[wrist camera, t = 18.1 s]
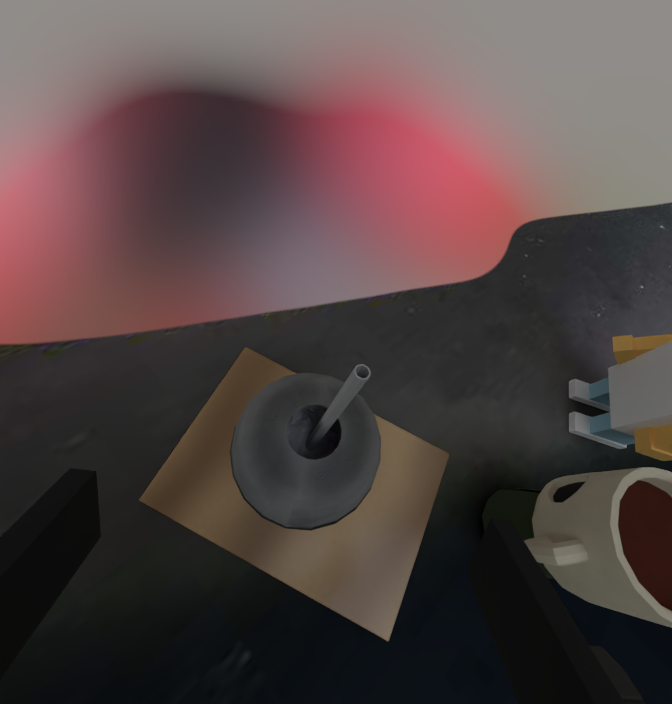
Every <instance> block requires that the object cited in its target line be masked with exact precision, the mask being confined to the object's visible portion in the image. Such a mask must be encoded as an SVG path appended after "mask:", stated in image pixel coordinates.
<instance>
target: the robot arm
mask: <svg viewBox="0 0 672 704" xmlns="http://www.w3.org/2000/svg"><path fill="white" fill-rule="evenodd" d="M100 537H101V532H100V518H99V504H98V490H97V476H96V471H89V470H80V469H72V468H70V469H69V470H68V471H67V472H66V473H65V474H64V475H63V476H62V477H61V478H60V479H59V480H58V481H57V482H56V483H55V484H54V485H53V486H52V487H51V488H50V489H49V490H48V491H47V492H46V493H45V494H44V495H43V496H42V497H41V498H40V499H39V500H38V501H37V502H36V503H35V504H34V505H33V506H31V507H30V508H29V509H28V510H27V511H26V512H25V513H24V514H23V515H22V516H21V517H20V518H19V519H18V520H17V521H16V522H15V523H14V524H13V525H12V526H11V527H10V528H9V529H8V530H7V531H6V532H5V533H4V534H3V535H2V536H1V537H0V679H1V678H2V676H3V675H4V673H5V672H6V671H7V669H8V668H9V666H10V665H11V663H12V662H13V661H14V659H15V658H16V656H17V655H18V653H19V652H20V651H21V649H22V648H23V646H24V645H25V643H26V642H27V641H28V639H29V638H30V636H31V635H32V634H33V632H34V631H35V629H36V628H37V626H38V625H39V624H40V622H41V621H42V619H43V618H44V616H45V615H46V614H47V612H48V611H49V609H50V608H51V607H52V605H53V604H54V602H55V601H56V599H57V598H58V597H59V595H60V594H61V592H62V591H63V589H64V588H65V587H66V585H67V584H68V582H69V581H70V580H71V578H72V577H73V575H74V574H75V572H76V571H77V570H78V568H79V567H80V565H81V564H82V562H83V561H84V560H85V558H86V557H87V555H88V554H89V553H90V551H91V550H92V548H93V547H94V545H95V544H96V543H97V541H98V540H99V538H100ZM466 574H467V577H468V579H469V582H470V584H471V587H472V589H473V591H474V594H475V596H476V599H477V601H478V604H479V606H480V609H481V611H482V614H483V616H484V619H485V621H486V624H487V626H488V629H489V631H490V634H491V636H492V639H493V641H494V644H495V646H496V649H497V651H498V654H499V656H500V659H501V661H502V664H503V666H504V669H505V671H506V674H507V676H508V679H509V681H510V684H511V686H512V689H513V691H514V693H515V696H516V698H517V701H518V703H519V704H646V703H644V702H643V701H642V697H641V695H640V694H639V692H638V691H637V689H636V688H635V686H634V685H633V683H632V682H631V680H630V679H629V677H628V676H627V674H626V673H625V671H624V670H623V669H622V668H621V667H620V666H619V664H618V663H617V662H616V661H615V660H614V659H613V658H612V657H611V656H610V655H609V654H608V653H607V652H606V651H605V650H604V649H603V648H602V647H600V646H589V645H588V643H587V641H586V640H585V638H584V637H583V635H582V633H581V632H580V630H579V629H578V627H577V625H576V624H575V622H574V621H573V619H572V617H571V616H570V614H569V613H568V611H567V609H566V608H565V606H564V605H563V603H562V601H561V600H560V598H559V596H558V595H557V593H556V592H555V590H554V588H553V587H552V585H551V584H550V582H549V580H548V579H547V577H546V576H545V574H544V572H543V571H542V569H541V568H540V566H539V564H538V563H537V561H536V560H535V558H534V556H533V555H532V553H531V551H530V550H529V548H528V547H527V545H526V543H525V542H524V540H523V539H522V537H521V535H520V534H519V532H518V531H517V529H516V527H515V526H514V524H513V523H512V521H511V520H502V519H494V518H491V519H490V521H489V523H488V525H487V528H486V530H485V532H484V535H483V537H482V539H481V541H480V544H479V546H478V548H477V551H476V553H475V555H474V557H473V560H472V562H471V564H470V567H469V569H468V571H467V573H466Z"/></svg>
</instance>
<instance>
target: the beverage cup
mask: <svg viewBox="0 0 672 704" xmlns="http://www.w3.org/2000/svg"><path fill="white" fill-rule="evenodd" d="M370 374H371V372H370V369H369V367H367V366H366V365H364V364H360V365H356V367H355V368H354V370H353V371H352V373H351V374H350V376H349V377H348V379H347V380H346V382H343V381H340V380H338V379H336V378H334V377H331V376H329V375H324V374H316V373H308V372H305V373H300V374H294V375H288V376H284V377H282V378H280V379H278V380H276V381H274V382H272V383H270V384H268V385H266V386H265V387H264V388H263V389H262V390H261V391H260V392H259V393H258V394H257V395H255V396H254V397H253V398H252V399H251V400H250V401H249V403H248V404H247V406H246V408H245V410H244V411H243V413H242V415H241V417H240V419H239V420H238V422H237V424H236V426H235V428H234V433H233V438H232V443H231V448H230V457H231V466H232V474H233V478H234V480H235V482H236V484H237V486H238V488H239V491H240V493H241V495H242V497H243V499H244V500H245V501H246V502H247V503H248V504H249V505H250V506H251V507H252V508H253V509H254V510H255V511H256V512H257V513H258V514H259V515H260V516H261V517H262V518H264V519H266V520H268V521H270V522H272V523H274V524H277V525H279V526H281V527H283V528H285V529H297V530H310V531H311V530H315V529H318V528H322V527H326V526H329V525H333V524H336V523H337V522H339V521H340V520H342V519H343V518H344V517H346V516H347V515H349V514H350V513H352V512H353V511H355V510H356V509H357V507H358V506H359V505H360V503H361V502H362V501H363V499H364V498H365V497H366V495H367V494H368V493H369V491H370V490H371V488H372V485H373V482H374V479H375V476H376V473H377V470H378V467H379V464H380V460H381V436H380V432H379V429H378V425H377V422H376V418H375V415H374V414H373V412H372V411H371V409H370V408H369V406H368V404H367V403H366V401H365V400H364V398H363V397H362V396H361V395H360V394H358V391H359V390H360V389H361V388H362V386H363V385H364V384H365V382H366V381H367V380H368V379H369V377H370Z"/></svg>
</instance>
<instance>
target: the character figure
mask: <svg viewBox="0 0 672 704" xmlns="http://www.w3.org/2000/svg"><path fill="white" fill-rule="evenodd" d="M613 352H614V355H615V358H616V361H617V365H614V366H612V367H609V368H608V378H605V379H603V380H600V381H597V382H595V383H592V384H589V383H586V382H583V381H580V380H577V379H573V380H571V381H569V398H570V399H573V400H576V401H578V402H581V403H584V404H587V405H590V406H593V407H596V408H599V409H602V410H605V411H608V412H609V413H605V414H602V415H598V416H595V417H590V416H587V415H584V414H581V413H578V412H572V413H569V432H571V433H574V434H577V435H579V436H582V437H585V438H588V439H591V440H594V441H597V442H600V443H603V444H606V445H609V446H612V447H615V448H618V449H622V448H627V445H628V444H634V443H635V448H636V452H638V453H641V454H644V455H647V456H650V457H653V458H656V459H659V460H662V461H667V460H672V334H666V335H656V336H646V337H636V338H633V337H632V335H626V336H617V337H613Z"/></svg>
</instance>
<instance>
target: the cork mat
mask: <svg viewBox="0 0 672 704" xmlns="http://www.w3.org/2000/svg"><path fill="white" fill-rule="evenodd" d="M294 374H296V373H295V372H293V371H291V370H289V369H287V368H285V367H283V366H281V365H279V364H277V363H276V362H274V361H272V360H270V359H268V358H266V357H264V356H262V355H260V354H258V353H256V352H255V351H253V350H251V349H249V348H247V347H245V348H244V350H243V351H242V353H241V354H240V355H239V357H238V358H237V360H236V361H235V363H234V364H233V365H232V367H231V368H230V370H229V371H228V373H227V374H226V376H225V377H224V378H223V380H222V381H221V383H220V384H219V386H218V387H217V388H216V390H215V391H214V393H213V394H212V396H211V397H210V398H209V400H208V401H207V403H206V404H205V406H204V407H203V409H202V410H201V411H200V413H199V414H198V416H197V417H196V419H195V420H194V421H193V423H192V424H191V426H190V427H189V429H188V430H187V432H186V433H185V434H184V436H183V437H182V439H181V440H180V442H179V443H178V444H177V446H176V447H175V449H174V450H173V452H172V453H171V454H170V456H169V457H168V459H167V460H166V462H165V463H164V465H163V466H162V467H161V469H160V470H159V472H158V473H157V475H156V476H155V477H154V479H153V480H152V482H151V483H150V485H149V486H148V487H147V489H146V490H145V492H144V493H143V495H142V496H141V498H140V499H139V501H141V502H142V503H144V504H146V505H148V506H150V507H151V508H153V509H155V510H157V511H158V512H160V513H162V514H164V515H165V516H167V517H169V518H171V519H173V520H174V521H176V522H178V523H180V524H181V525H183V526H185V527H187V528H188V529H190V530H192V531H194V532H195V533H197V534H199V535H201V536H203V537H204V538H206V539H208V540H210V541H211V542H213V543H215V544H217V545H218V546H220V547H222V548H224V549H225V550H227V551H229V552H231V553H233V554H234V555H236V556H238V557H240V558H241V559H243V560H245V561H247V562H248V563H250V564H252V565H254V566H255V567H257V568H259V569H261V570H263V571H264V572H266V573H268V574H270V575H271V576H273V577H275V578H277V579H278V580H280V581H282V582H284V583H286V584H287V585H289V586H291V587H293V588H294V589H296V590H298V591H300V592H301V593H303V594H305V595H307V596H308V597H310V598H312V599H314V600H316V601H317V602H319V603H321V604H323V605H324V606H326V607H328V608H330V609H331V610H333V611H335V612H337V613H338V614H340V615H342V616H344V617H346V618H347V619H349V620H351V621H353V622H354V623H356V624H358V625H360V626H361V627H363V628H365V629H367V630H369V631H370V632H372V633H374V634H376V635H377V636H379V637H381V638H383V639H384V640H386V641H389V639H390V636H391V633H392V629H393V626H394V623H395V620H396V617H397V614H398V611H399V608H400V605H401V602H402V599H403V596H404V593H405V590H406V587H407V584H408V580H409V577H410V574H411V571H412V568H413V565H414V562H415V559H416V556H417V553H418V550H419V547H420V544H421V541H422V538H423V535H424V532H425V528H426V525H427V522H428V519H429V516H430V513H431V510H432V507H433V504H434V501H435V498H436V495H437V492H438V489H439V486H440V483H441V479H442V476H443V473H444V470H445V467H446V464H447V461H448V458H449V455H450V454H449V453H447V452H445V451H443V450H441V449H439V448H438V447H436V446H434V445H432V444H430V443H428V442H426V441H424V440H422V439H420V438H418V437H417V436H415V435H413V434H411V433H409V432H407V431H405V430H403V429H401V428H399V427H398V426H396V425H394V424H392V423H390V422H388V421H386V420H384V419H382V418H380V417H378V416H377V415H375V414H374V415H375V418H376V422H377V425H378V429H379V432H380V436H381V460H380V464H379V467H378V470H377V473H376V476H375V479H374V482H373V485H372V488H371V490H370V491H369V493H368V494H367V495H366V497H365V498H364V499H363V501H362V502H361V503H360V505H359V506H358V507H357V509H356V510H355V511H353V512H352V513H350V514H349V515H347V516H346V517H344V518H343V519H342V520H340V521H339V522H337V523H336V524H333V525H329V526H326V527H322V528H318V529H315V530H311V531H310V530H297V529H285V528H283V527H281V526H279V525H277V524H274V523H272V522H270V521H268V520H266V519H264V518H262V517H261V516H260V515H259V514H258V513H257V512H256V511H255V510H254V509H253V508H252V507H251V506H250V505H249V504H248V503H247V502H246V501H245V500H244V499H243V497H242V495H241V493H240V491H239V488H238V486H237V484H236V482H235V480H234V478H233V474H232V466H231V457H230V448H231V443H232V438H233V433H234V428H235V426H236V424H237V422H238V420H239V419H240V417H241V415H242V413H243V411H244V410H245V408H246V406H247V404H248V403H249V401H250V400H251V399H252V398H253V397H254V396H255V395H257V394H258V393H259V392H260V391H261V390H262V389H263V388H264V387H265V386H266V385H268V384H270V383H272V382H274V381H276V380H278V379H280V378H282V377H284V376H288V375H294Z"/></svg>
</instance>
